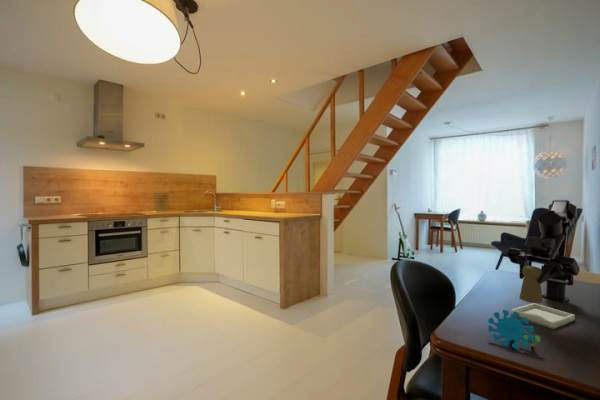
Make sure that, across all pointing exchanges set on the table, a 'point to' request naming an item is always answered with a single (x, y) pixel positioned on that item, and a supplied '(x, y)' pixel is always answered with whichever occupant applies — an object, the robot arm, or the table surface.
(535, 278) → the cork
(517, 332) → the gear
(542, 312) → the tray
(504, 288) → the table surface
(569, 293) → the table surface
